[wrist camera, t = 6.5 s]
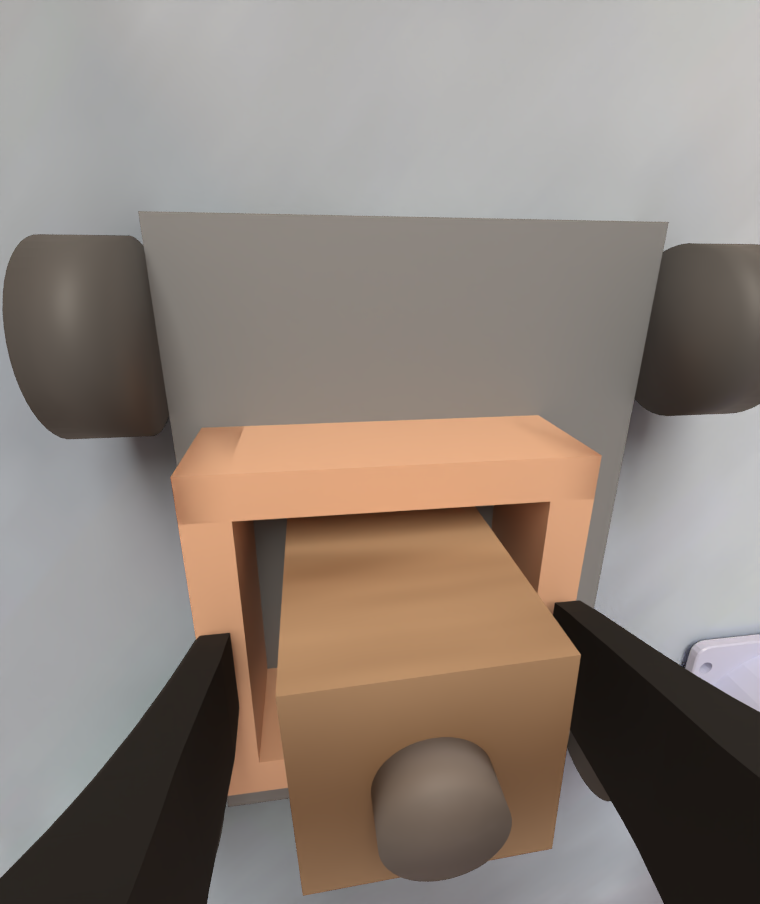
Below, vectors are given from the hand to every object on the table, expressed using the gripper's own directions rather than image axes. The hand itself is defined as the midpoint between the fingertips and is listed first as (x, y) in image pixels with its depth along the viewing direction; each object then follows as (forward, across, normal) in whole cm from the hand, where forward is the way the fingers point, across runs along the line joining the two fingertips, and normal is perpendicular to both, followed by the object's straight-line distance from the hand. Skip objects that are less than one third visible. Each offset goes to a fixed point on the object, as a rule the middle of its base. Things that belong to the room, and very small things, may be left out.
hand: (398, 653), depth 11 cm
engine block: (+3, 0, 0) cm, 3 cm away
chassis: (+5, -1, 0) cm, 5 cm away
